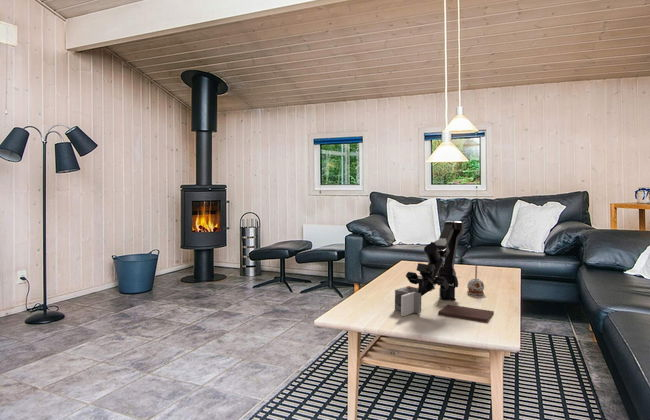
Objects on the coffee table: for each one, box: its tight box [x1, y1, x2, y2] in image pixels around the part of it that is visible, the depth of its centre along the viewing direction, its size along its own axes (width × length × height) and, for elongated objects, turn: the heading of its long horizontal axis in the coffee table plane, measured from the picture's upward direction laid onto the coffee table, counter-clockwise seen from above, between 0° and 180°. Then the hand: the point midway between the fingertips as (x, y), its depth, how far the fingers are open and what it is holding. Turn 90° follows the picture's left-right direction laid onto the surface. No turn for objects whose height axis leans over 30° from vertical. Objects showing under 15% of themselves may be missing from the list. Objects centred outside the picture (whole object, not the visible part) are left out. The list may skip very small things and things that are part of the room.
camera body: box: [394, 285, 419, 313], centre depth 187 cm, size 11×7×10 cm, turn 135°
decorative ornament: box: [467, 264, 485, 296], centre depth 217 cm, size 8×8×15 cm
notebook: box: [437, 303, 495, 323], centre depth 182 cm, size 15×20×2 cm
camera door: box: [400, 292, 422, 317], centre depth 180 cm, size 10×4×8 cm, turn 135°
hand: (418, 296), depth 183 cm, fingers closed
